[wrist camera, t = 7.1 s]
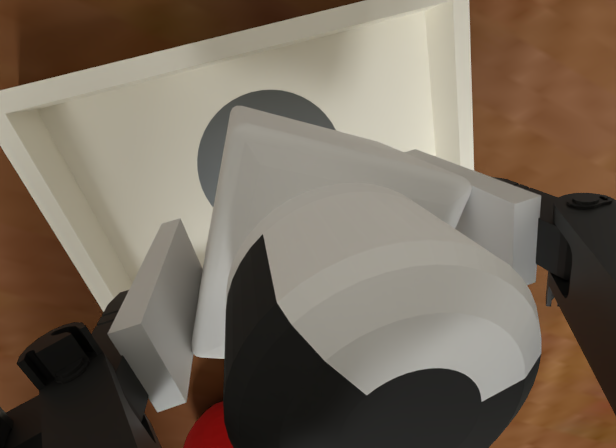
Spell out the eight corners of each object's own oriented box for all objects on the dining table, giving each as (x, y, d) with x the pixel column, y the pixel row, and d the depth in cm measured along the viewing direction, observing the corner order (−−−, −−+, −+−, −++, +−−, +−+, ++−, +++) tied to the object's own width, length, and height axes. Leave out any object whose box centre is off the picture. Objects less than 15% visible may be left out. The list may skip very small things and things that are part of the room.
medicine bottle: (339, 271, 19) (491, 539, 8) (205, 253, 17) (153, 580, 6) (382, 142, 16) (685, 265, 5) (231, 102, 14) (231, 171, 3)
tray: (138, 309, 26) (124, 345, 23) (18, 95, 20) (-30, 97, 16) (445, 212, 29) (475, 230, 25) (429, -8, 22) (468, -25, 19)
